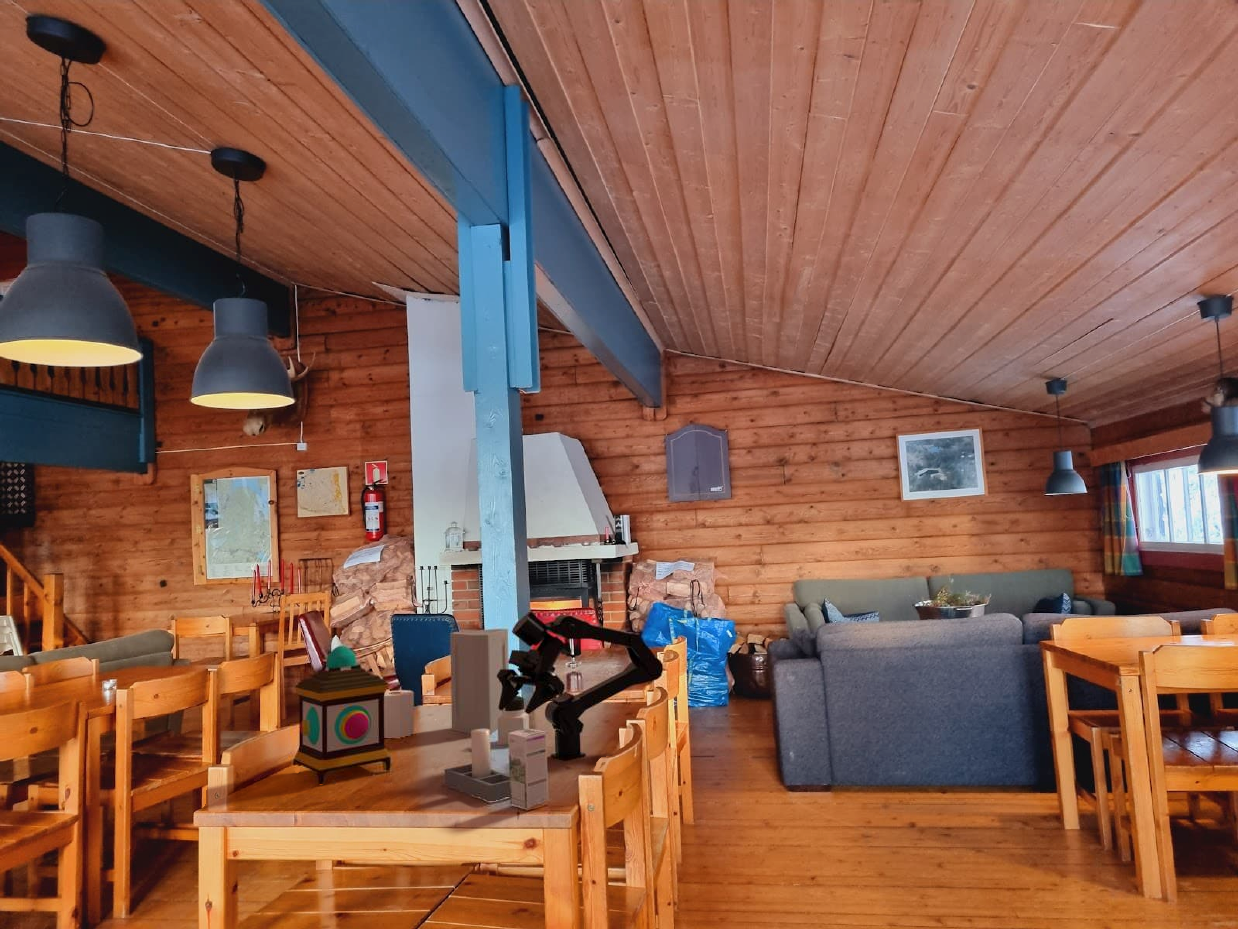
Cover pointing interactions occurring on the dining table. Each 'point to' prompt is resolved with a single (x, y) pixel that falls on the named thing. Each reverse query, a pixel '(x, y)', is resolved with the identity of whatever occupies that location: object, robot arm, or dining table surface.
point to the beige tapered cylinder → (480, 753)
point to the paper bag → (477, 678)
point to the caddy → (478, 783)
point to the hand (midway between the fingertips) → (513, 711)
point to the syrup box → (528, 767)
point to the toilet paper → (398, 713)
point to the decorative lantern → (341, 717)
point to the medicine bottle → (512, 720)
